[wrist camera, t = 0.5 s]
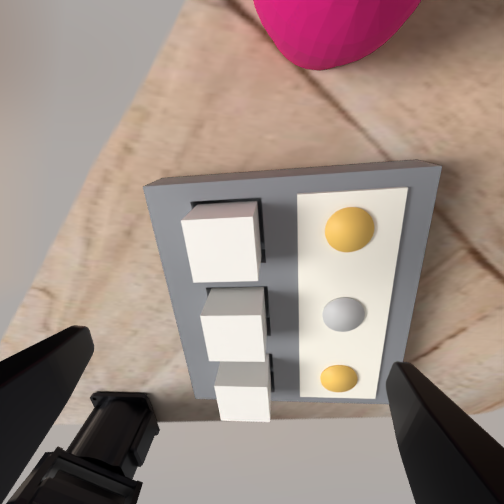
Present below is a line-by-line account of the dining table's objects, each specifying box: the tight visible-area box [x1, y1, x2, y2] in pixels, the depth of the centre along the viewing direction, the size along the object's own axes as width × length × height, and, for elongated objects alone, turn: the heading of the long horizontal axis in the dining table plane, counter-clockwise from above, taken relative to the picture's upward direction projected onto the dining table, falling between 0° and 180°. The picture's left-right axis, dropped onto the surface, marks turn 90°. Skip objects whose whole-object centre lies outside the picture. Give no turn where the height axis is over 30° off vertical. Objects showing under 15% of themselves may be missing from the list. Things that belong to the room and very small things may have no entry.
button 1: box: [181, 201, 262, 283], centre depth 16 cm, size 4×4×3 cm
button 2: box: [214, 354, 271, 422], centre depth 21 cm, size 4×4×3 cm
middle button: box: [200, 287, 267, 362], centre depth 19 cm, size 4×4×3 cm
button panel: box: [143, 160, 442, 404], centre depth 21 cm, size 17×19×4 cm
